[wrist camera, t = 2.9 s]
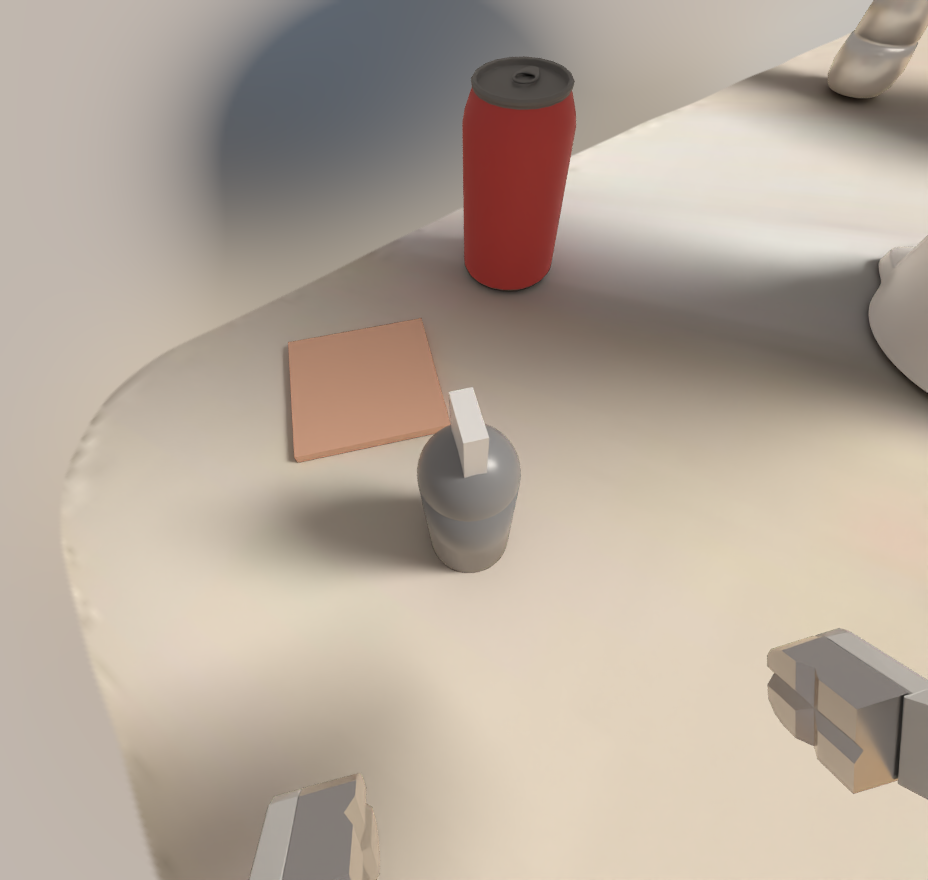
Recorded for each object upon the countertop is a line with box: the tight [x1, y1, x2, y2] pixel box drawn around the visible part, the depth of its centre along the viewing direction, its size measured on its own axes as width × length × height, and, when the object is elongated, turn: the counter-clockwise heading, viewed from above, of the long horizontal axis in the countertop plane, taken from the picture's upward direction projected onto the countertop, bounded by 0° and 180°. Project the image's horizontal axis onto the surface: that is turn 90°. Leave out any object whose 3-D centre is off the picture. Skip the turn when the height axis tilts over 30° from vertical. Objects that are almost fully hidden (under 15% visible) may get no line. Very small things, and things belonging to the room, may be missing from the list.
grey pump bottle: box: [417, 387, 521, 573], centre depth 19 cm, size 4×4×11 cm
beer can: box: [463, 57, 576, 291], centre depth 29 cm, size 7×7×12 cm
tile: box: [288, 318, 451, 462], centre depth 28 cm, size 9×9×1 cm
